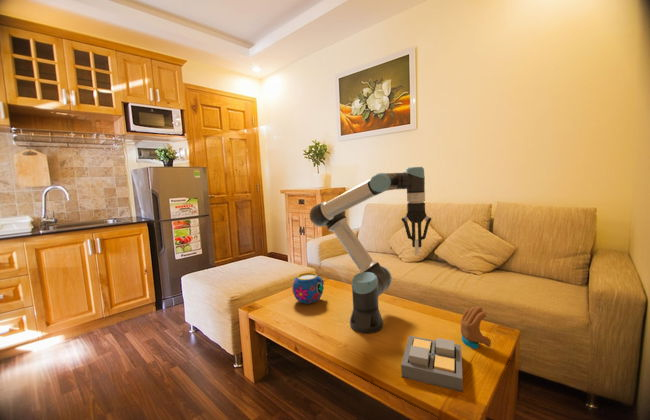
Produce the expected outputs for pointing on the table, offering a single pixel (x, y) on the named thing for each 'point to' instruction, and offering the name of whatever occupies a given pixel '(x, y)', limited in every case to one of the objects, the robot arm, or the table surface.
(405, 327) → the table surface
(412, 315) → the table surface
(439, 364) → the ochre button near right
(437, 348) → the grey button far right
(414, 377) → the button board
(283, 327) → the table surface
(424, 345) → the ochre button far left
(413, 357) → the grey button near left
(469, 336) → the toy
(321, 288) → the ceramic pot
